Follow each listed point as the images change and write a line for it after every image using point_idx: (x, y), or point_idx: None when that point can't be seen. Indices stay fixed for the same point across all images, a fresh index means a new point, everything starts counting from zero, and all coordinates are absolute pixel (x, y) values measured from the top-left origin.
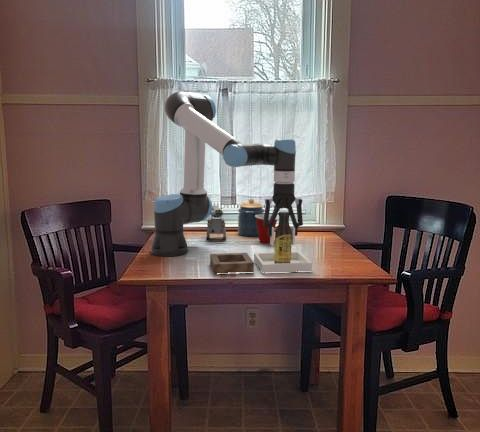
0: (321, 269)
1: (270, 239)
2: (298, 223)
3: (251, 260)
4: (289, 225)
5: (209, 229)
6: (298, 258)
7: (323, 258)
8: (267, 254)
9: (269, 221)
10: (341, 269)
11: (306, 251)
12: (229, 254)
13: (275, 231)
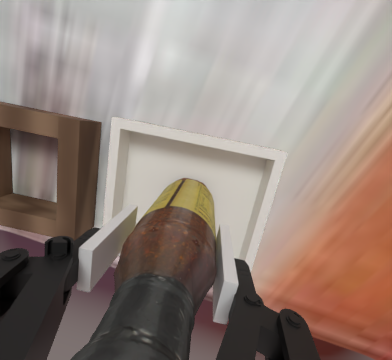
0: (283, 253)
1: (119, 215)
2: (262, 350)
3: (73, 217)
4: (199, 305)
5: None
6: (265, 171)
7: (374, 155)
8: (160, 136)
9: (31, 286)
10: (337, 272)
11: (386, 34)
12: (15, 124)
13: (120, 253)
